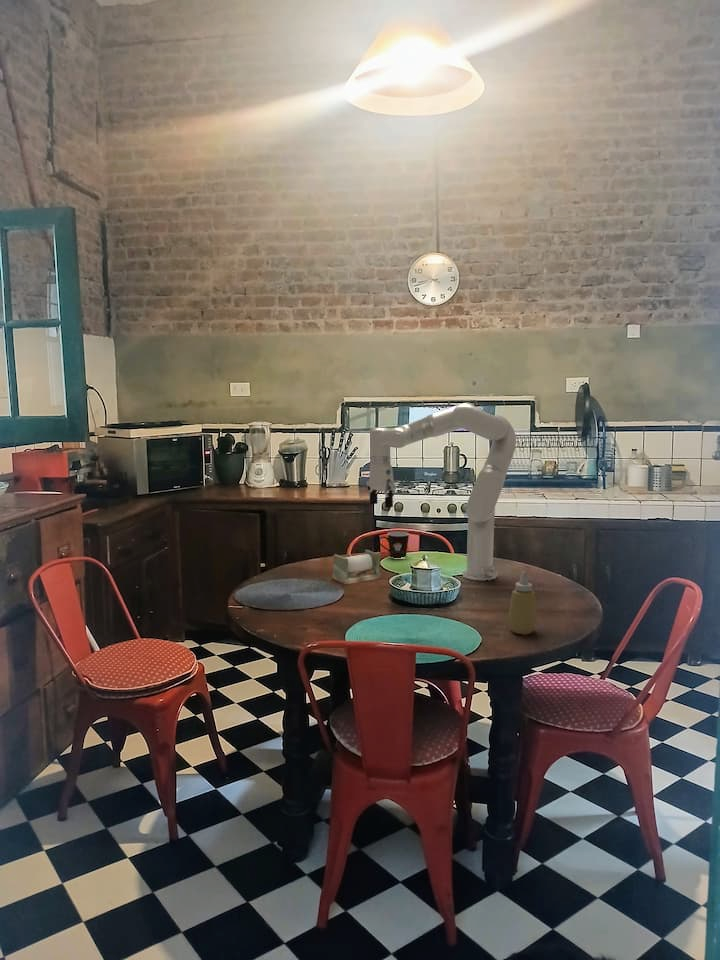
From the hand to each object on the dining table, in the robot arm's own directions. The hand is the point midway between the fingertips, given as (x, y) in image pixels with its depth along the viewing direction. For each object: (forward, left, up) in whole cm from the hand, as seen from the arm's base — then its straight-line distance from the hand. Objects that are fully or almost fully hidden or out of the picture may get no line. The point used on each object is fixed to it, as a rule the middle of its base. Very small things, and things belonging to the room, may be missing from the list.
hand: (381, 505), depth 280 cm
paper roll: (-5, +14, -23) cm, 27 cm away
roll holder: (-5, +14, -25) cm, 29 cm away
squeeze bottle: (-78, +3, -25) cm, 82 cm away
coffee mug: (+13, -16, -25) cm, 32 cm away
